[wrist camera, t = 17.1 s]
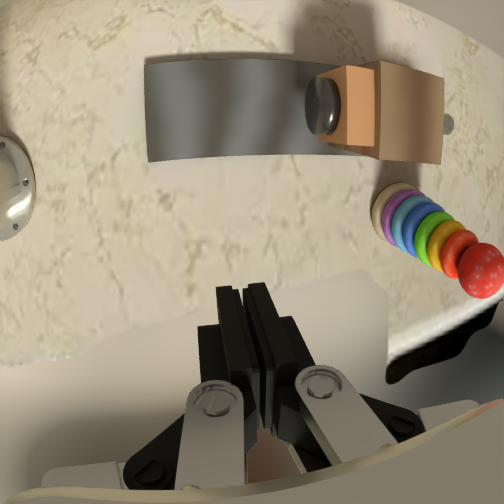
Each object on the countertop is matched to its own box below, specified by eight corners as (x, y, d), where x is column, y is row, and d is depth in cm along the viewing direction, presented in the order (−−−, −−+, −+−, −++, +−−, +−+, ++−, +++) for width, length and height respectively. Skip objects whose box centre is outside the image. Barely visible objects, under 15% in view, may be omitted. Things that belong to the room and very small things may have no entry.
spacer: (318, 140, 27) (346, 144, 22) (317, 75, 25) (346, 64, 19) (341, 141, 28) (374, 146, 22) (341, 78, 25) (373, 69, 20)
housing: (149, 161, 29) (126, 182, 19) (145, 66, 25) (121, 40, 15) (380, 156, 33) (443, 175, 23) (382, 75, 29) (447, 69, 19)
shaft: (304, 133, 27) (326, 137, 22) (304, 79, 25) (327, 73, 20) (430, 143, 30) (461, 151, 25) (431, 100, 27) (463, 102, 23)
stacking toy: (379, 174, 34) (499, 229, 18) (424, 189, 36) (534, 243, 19) (361, 235, 37) (461, 319, 20) (406, 243, 39) (502, 317, 22)
